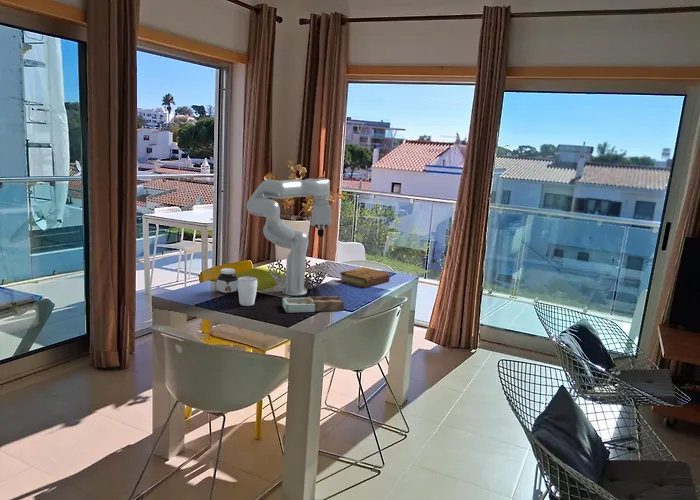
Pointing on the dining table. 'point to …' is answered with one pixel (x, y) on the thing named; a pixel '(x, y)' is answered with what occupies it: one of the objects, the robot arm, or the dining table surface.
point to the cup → (247, 290)
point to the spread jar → (227, 281)
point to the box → (297, 305)
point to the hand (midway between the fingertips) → (320, 236)
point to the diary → (364, 277)
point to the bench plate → (328, 303)
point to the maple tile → (308, 301)
